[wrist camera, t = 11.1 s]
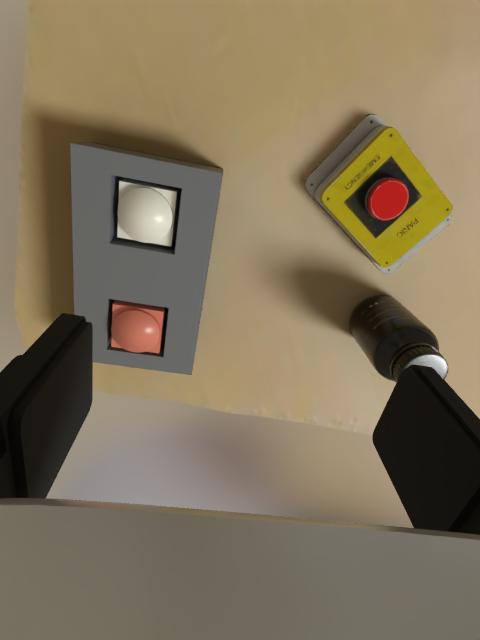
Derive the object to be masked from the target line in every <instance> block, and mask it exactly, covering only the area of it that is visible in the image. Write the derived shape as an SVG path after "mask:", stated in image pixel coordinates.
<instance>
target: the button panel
mask: <svg viewBox="0 0 480 640" xmlns="http://www.w3.org/2000/svg"><path fill="white" fill-rule="evenodd" d="M70 153H71V198H72V242H73V286H74V315H79V316H84V317H85V318H86V322H91V323H92V327H93V353H92V362H97V363H105V364H112V365H120V366H127V367H135V368H142V369H150V370H157V371H165V372H173V373H180V374H188V375H192V369H193V362H194V356H195V350H196V343H197V337H198V330H199V324H200V317H201V311H202V305H203V298H204V292H205V285H206V279H207V272H208V266H209V259H210V253H211V247H212V240H213V234H214V227H215V221H216V214H217V208H218V202H219V195H220V189H221V182H222V176H223V169H220V168H216V167H211V166H206V165H201V164H196V163H191V162H186V161H181V160H176V159H171V158H166V157H161V156H156V155H151V154H146V153H141V152H136V151H131V150H126V149H121V148H116V147H111V146H106V145H101V144H96V143H91V142H84V143H70ZM125 178H129V179H134V180H139V181H145V182H150V183H155V184H160V185H165V186H171V187H176V188H180V194H179V203H178V212H177V222H176V231H175V240H174V242H173V244H172V246H165V245H159V244H153V243H143V242H139V241H136V240H130V239H125V238H119V237H117V231H118V202H119V181H120V180H123V179H125ZM115 300H120V301H126V302H133V303H140V304H146V305H153V306H159V307H166V317H165V326H164V336H163V343H162V346H161V349H160V352H159V353H153V352H139V353H137V352H131V351H128V350H125V349H123V348H116V347H111V341H112V332H111V327H112V309H113V303H114V301H115Z"/></svg>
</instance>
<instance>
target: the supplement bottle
mask: <svg viewBox="0 0 480 640" xmlns="http://www.w3.org/2000/svg"><path fill="white" fill-rule="evenodd" d="M350 330H351V333H352V335H353V336H354V338H355V340H356V341H357V343H358V344H359V346H360V347H361V349H362V350H363V352H364V353H365V355H366V356H367V358H368V359H369V360H370V362H371V363H372V365H373V366H374V368H375V369H376V371H377V372H378V373H379V374H380V375H381V376H383V377H384V378H386V379H389V380H392V381H395V382H397V381H398V379H399V377H400V375H401V373H402V371H403V370H404V369H405V368H408V367H409V366H410V365H413V364H414V365H421V366H428V367H432V368H434V369H435V370H436V371H437V373H438V374H439V375H440V376H441V377H442V378H443V379H445V377H446V376H447V373H448V367H447V366H448V364H447V363H446V360H445V359H444V357H443V356H442V355H441V354H440V353H439V344H438V340H437V338H436V336H435V335H434V333H433V332H432V331H431V330H430V329H429V328H428V327H427V326H425V325H424V324H423V323H422V322H421V321H420V320H419V319H418V318H416V317H415V316H414V315H413V314H412V313H411V312H410V311H409V310H408V309H406V308H405V307H404V306H403V305H402V304H401V303H400V302H398V301H397V300H395V299H394V298H391V297H388V296H375V297H372V298H369V299H367V300H365V301H363V302H362V303H361V304H360V305H358V306H357V308H356V309H355V310H354V312H353V314H352V316H351V319H350Z"/></svg>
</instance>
